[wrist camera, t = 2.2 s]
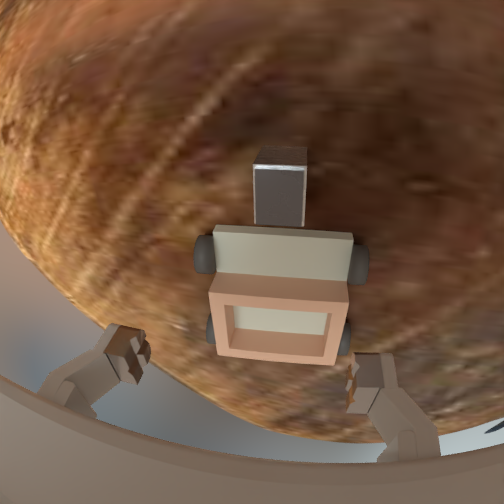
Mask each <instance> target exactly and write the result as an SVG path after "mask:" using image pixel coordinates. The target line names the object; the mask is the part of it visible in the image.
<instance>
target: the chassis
mask: <svg viewBox="0 0 504 504" xmlns="http://www.w3.org/2000/svg"><path fill="white" fill-rule="evenodd" d="M353 241H354V240H353V235H352V233H348V232H334V231H319V230H304V229H288V228H271V227H253V226H234V225H216V226H215V228H214V230H213V236H211V235H199V236H198V238H197V240H196V243H195V247H194V267H195V270H196V272H197V273H202V274H214V272H215V270H216V268H217V273H216V275H215V277H214V280H213V282H212V285H211V287H210V289H209V292H208V293H209V300H210V307H211V313H210V315H209V317H208V321H207V327H206V339H207V342H208V343H210V344H216V346H217V353H218V355H223V356H231V357H239V358H248V359H257V360H267V361H278V362H289V363H303V364H319V365H334V364H335V360H336V356H337V355H347V354H348V351H349V346H350V337H351V328H350V324H349V323H345V319H346V315H347V311H348V306H349V297H348V288H347V278H348V284H352V285H365V283H366V281H367V277H368V271H369V250H368V247H367V245H354V244H353Z"/></svg>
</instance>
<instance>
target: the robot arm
mask: <svg viewBox="0 0 504 504" xmlns="http://www.w3.org/2000/svg"><path fill="white" fill-rule="evenodd" d="M145 337H146V334H145V331H144V330H141V329H137V328H132V327H127V326H123V325H118V324H114V323H111V324H110V325H108V327H107V328H106V330H105V331H104V333H103V335H102V336H101V338H100V339H99V341H98V342H97V344H96V346H95V347H94V349H93V350H89V351H87V352H85V353H83V354H81V355H80V356H78V357H76V358H74V359H73V360H71V361H69V362H68V363H66V364H64V365H62V366H61V367H59V368H57V369H55V370H54V371H52V372H50V373H49V375H48V376H47V378H46V379H45V381H44V383H43V384H42V386H41V387H40V389H39V391H38V392H37V394H36V393H34V392H32V391H30V390H28V389H26V388H24V387H22V386H20V385H18V384H16V383H14V382H12V381H10V380H9V379H7V378H5V377H3V376H1V375H0V504H504V443H503V444H499V445H495V446H491V447H487V448H482V449H478V450H473V451H468V452H463V453H457V454H451V455H445V456H441V453H440V445H439V438H438V432H437V427H436V426H435V425H434V424H433V422H432V421H431V420H430V419H429V418H428V417H427V416H426V415H425V413H424V412H423V411H422V410H421V409H420V408H419V407H418V406H417V404H416V403H415V402H414V401H413V400H412V399H411V398H410V397H409V395H408V394H407V393H406V392H405V391H404V390H403V389H402V388H398V382H397V376H396V370H395V364H394V359H393V355H392V353H363V352H353V354H352V356H351V364H350V365H349V366H348V369H347V373H346V390H347V391H348V394H347V397H346V413H364V414H367V415H368V417H369V418H370V420H371V421H372V423H373V425H374V426H375V428H376V429H377V431H378V432H379V434H380V435H381V437H382V438H383V440H384V441H385V443H386V445H387V448H386V449H385V450H384V451H383V453H381V455H380V456H379V457H378V458H377V462H376V463H313V462H312V463H311V462H294V461H282V460H272V459H263V458H254V457H247V456H240V455H233V454H227V453H221V452H216V451H210V450H205V449H200V448H195V447H191V446H186V445H182V444H178V443H174V442H169V441H165V440H161V439H158V438H154V437H150V436H147V435H143V434H140V433H137V432H133V431H130V430H127V429H123V428H121V427H117V426H115V425H111V424H109V423H106V422H103V421H100V420H98V419H96V417H97V414H96V412H95V411H94V410H93V408H92V407H91V406H90V405H92V404H93V403H94V402H96V401H97V400H98V399H99V398H101V397H102V396H103V395H104V394H105V393H107V392H108V391H109V390H110V389H112V388H113V387H114V386H116V385H117V384H118V383H119V382H120V381H123V382H127V383H132V384H136V385H138V383H139V381H140V379H141V376H142V374H143V370H142V367H144V366H145V365H147V364H148V362H149V359H150V354H151V348H150V345H149V343H148V342H147V341H146V340H145Z"/></svg>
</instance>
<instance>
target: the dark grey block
mask: <svg viewBox="0 0 504 504" xmlns="http://www.w3.org/2000/svg"><path fill="white" fill-rule="evenodd" d="M306 179H307V147H295V146H267V145H263V147H262V148H261V150H260V152H259V154H258V156H257V158H256V159H255V161H254V163H253V189H254V223H255V224H260V225H278V226H294V227H302V226H304V219H305V200H306Z"/></svg>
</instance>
